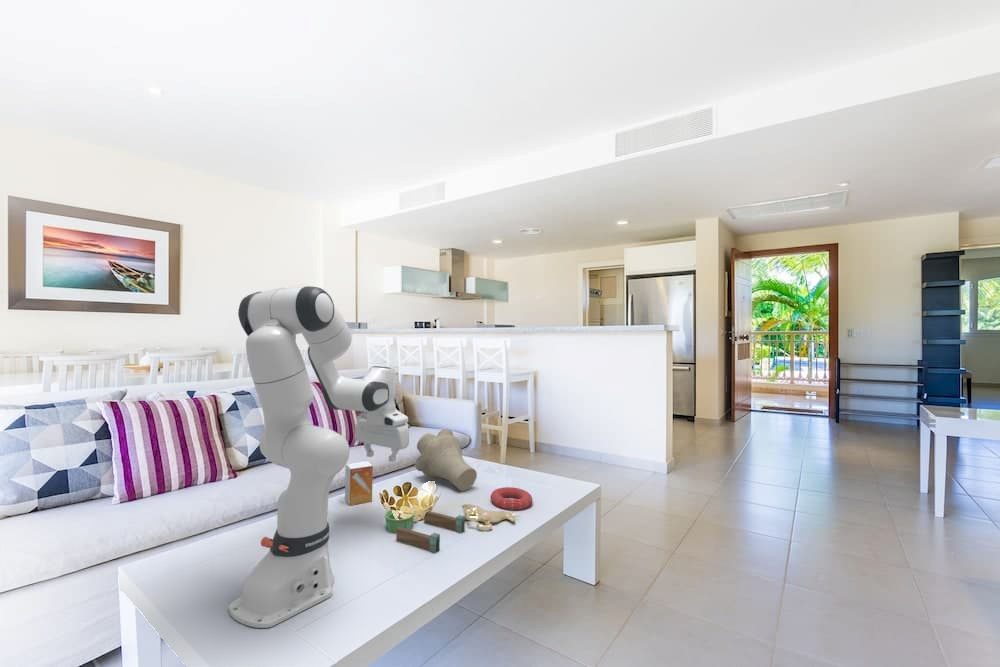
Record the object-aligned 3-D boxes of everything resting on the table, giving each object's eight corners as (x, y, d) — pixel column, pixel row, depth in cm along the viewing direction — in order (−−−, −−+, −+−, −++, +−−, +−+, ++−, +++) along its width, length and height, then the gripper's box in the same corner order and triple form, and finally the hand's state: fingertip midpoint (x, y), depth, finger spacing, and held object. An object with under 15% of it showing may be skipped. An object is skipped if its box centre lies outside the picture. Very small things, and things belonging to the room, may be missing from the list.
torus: (540, 506, 159) (541, 496, 159) (509, 515, 151) (509, 505, 150) (512, 492, 172) (512, 482, 172) (482, 500, 163) (482, 490, 163)
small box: (349, 506, 155) (349, 469, 155) (344, 500, 160) (345, 464, 160) (372, 501, 159) (373, 465, 159) (367, 495, 165) (367, 460, 164)
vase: (503, 454, 173) (460, 422, 195) (456, 455, 157) (415, 420, 179) (485, 509, 175) (444, 471, 197) (437, 515, 159) (398, 473, 181)
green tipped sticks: (435, 553, 124) (435, 537, 124) (395, 541, 131) (396, 526, 131) (464, 530, 138) (464, 516, 138) (427, 520, 145) (427, 507, 144)
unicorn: (444, 505, 148) (480, 495, 160) (443, 517, 147) (480, 506, 160) (488, 523, 134) (524, 510, 147) (487, 537, 134) (523, 523, 147)
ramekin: (384, 522, 143) (384, 508, 143) (413, 519, 145) (413, 506, 145) (385, 535, 134) (385, 521, 134) (415, 532, 137) (415, 518, 137)
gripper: (350, 414, 146) (350, 456, 146) (399, 421, 137) (398, 466, 137) (364, 410, 152) (364, 451, 152) (412, 418, 142) (411, 461, 143)
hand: (381, 458), depth 144 cm, fingers open, 8 cm apart
